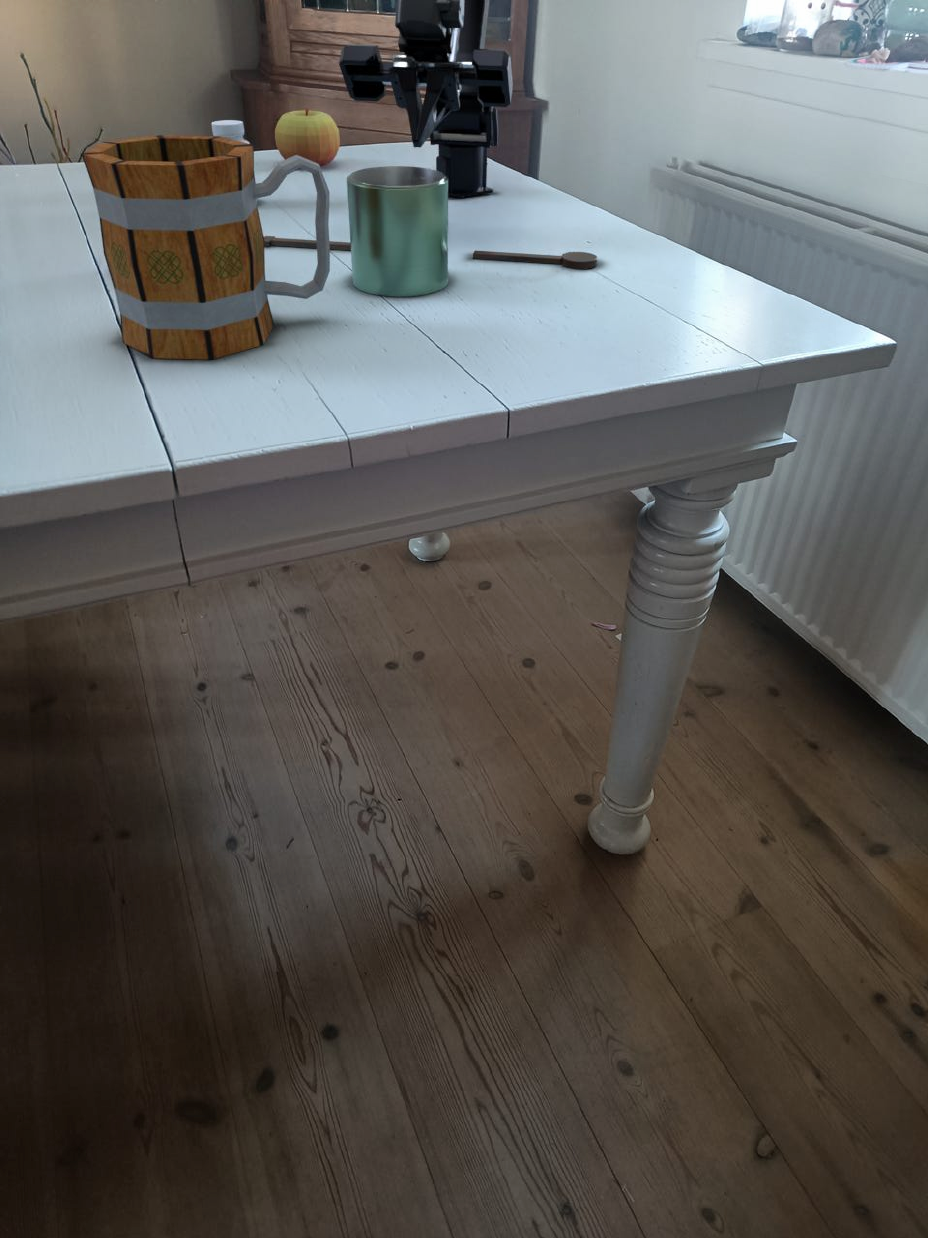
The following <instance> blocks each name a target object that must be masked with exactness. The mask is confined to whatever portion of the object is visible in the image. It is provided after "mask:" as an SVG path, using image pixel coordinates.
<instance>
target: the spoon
mask: <svg viewBox="0 0 928 1238" xmlns="http://www.w3.org/2000/svg"><path fill="white" fill-rule="evenodd" d="M472 259H476V260H490V261H503V262H504V261H507V262H519V263H520V262H522V263H536V264H537V263H538V264H552V265H561V266H563V267H566V268H569V269H574V270H587V269H593V268H596V267H597V266H598V259H599V258H598V256H597V255H596V254H594V253H592V252H591V253H590V252H586V251H570V252H569V251H568V252H565V253H563V254H562V255H555V254H553V255H552V254H536V253H524V252H523V253H520V252H505V251H489V250H477V249H476V250H474V251H473V253H472Z"/></svg>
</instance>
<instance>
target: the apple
mask: <svg viewBox="0 0 928 1238" xmlns="http://www.w3.org/2000/svg"><path fill="white" fill-rule="evenodd" d="M274 139H275V145H276V148H277V150H278V152H279V154H280V156H281V157H282V158H283V160H286V159H288V158H290V157H292V156H294V155H298V156H301V157H303V158H305V159H308V160H310V161H313V162H315V163H318V164H319V166H320V168H322V167H326V166H327V165H329V164H330V163H331V162H332V161H333V160H334V159H335V158H336V156H337V155H338V152H339V149H340V145H341V137H340V130H339V128H338V125H337V123H336V122H335V120H334V119H333V118H332V117H331V115H329V114H328V113H326V112H322V111H320V110H319V111H318V110H310V109H309V108H305V109H304V110H293V111H288V112H286V113H283V114H282V115H281V117H280V118H279V120H278V121H277V123H276V126H275V129H274Z"/></svg>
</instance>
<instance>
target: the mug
mask: <svg viewBox="0 0 928 1238" xmlns="http://www.w3.org/2000/svg"><path fill="white" fill-rule="evenodd" d="M254 149H255V145H254V144H251V143H250V144H248V143H244V142H240V141H236V140H232V139H228V138H224V137H220V136H213V135H168V134H167V135H166V134H165V135H163V134H159V135H152V136H151V135H150V136H142V137H135V138H134V137H133V138H126V139H118V140H109V141H102V142H100V143H99V144H97V145H95V146H94V147H92V148H90V149H88V150H86V151H84V152H82V153H81V157H82V160H83V163H84V165H85V169H86V171H87V172H86V173H87V174H88V177H89V180H90V183H91V186H92V190H93V194H94V199H95V204H96V208H97V209H96V210H97V213H98V219H99V225H100V232H101V243H102V249H103V250H102V251H103V256H104V259H105V262H106V265H107V269H108V272H109V275H110V279H111V283H112V285H113V290H114V293H115V297H116V302H117V307H118V312H119V319H120V329H121V330H120V331H121V341H122V343H123V344H125V345H127V346H128V347H131V348H132V349H133V350H136V351H137V352H139V353H141V354H143V355H145V356H147V357H148V358H150V359H167V360H169V359H170V360H171V359H172V360H215V359H219V358H223V357H226V356H229V355H233V354H237V353H240V352H244V351H246V350H250V349H254V348H257V347H261V346H264V344H265V342H266V340H267V339H268V337H269V335H270V333H271V332H272V329H273V328H274V325H275V324H274V319H273V315H272V310H271V306H270V302H269V299H268V295H269V296H270V295H271V296H282V297H291V298H297V299H304V300H308V299H309V298H311V297H313V296H314V295H317V294H319V293H320V292H322V291H323V290H324V287H325V285H326V282H327V279H328V277H329V274H330V271H331V249H330V243H329V241H330V230H329V229H330V228H329V227H330V226H329V221H330V219H329V218H330V189H329V187H328V183H327V181H326V179H325V176H324V174H323V171H322V169H321V168H322V167H320V166H319V164H318V163H315V162H313V161H310V160H308V159H305V158H303V157H301V156H298V155H294V156H292V157H290V158H288V159H286V160H285V159H283V160H282V161H279V162H278V163H277V164H275V167H274V168H273V169H272V171H271V172H270V173H269V174H268V176H267V177H266V178H265V179H264V180H263V181H262V182H256V181H255V182H256V184H255V182H254V174H255V150H254ZM299 169H300V170H303V171H306V172H308V173H310V174H311V176H312V179H313V183H314V186H315V191H316V202H315V203H316V205H315V207H316V208H315V219H314V224H315V225H314V226H315V240H316V241H317V248H316V254H317V255H316V256H317V257H316V258H317V259H316V260H317V265H316V268H315V271H314V274H313V277H312V280H310V281H308V282H307V283H305V284H303V285H298V284H294V283H289V282H287V281H275V280H266V268H265V264H266V263H265V262H266V261H265V256H266V255H265V246H264V237H265V236H264V232H263V227H262V222H261V218H260V212H259V207H258V201H257V199H256V198H258V199H261V198H266V197H270V196H272V195H273V194H274V193H275V192H276V191H277V190H278V189H279V188H280V186H281V185H282V183H283V182H284V180H285V179H286V178H287V176H288V175H290V174H292V173H293V172H295V171H297V170H299Z"/></svg>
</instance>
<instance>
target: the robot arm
mask: <svg viewBox="0 0 928 1238" xmlns="http://www.w3.org/2000/svg"><path fill="white" fill-rule="evenodd" d="M490 1H491V0H396V4H395V19H394V22H395V23H394V27H395V29H397V30H398V32H399V34H398V35H399V36H398V41H397V46H398V49H399V52H400V53H404V54H392V57H391V61H383V60H382V57H381V53H380V49H379V45H377V44H350V43H349V44H348V43H347V44H345V45H344V46H343V48H342V49H341V51H340V56H339V62H338V66H339V68H340V72H341V74H342V77H343V80H344V84H345V88H346V89H347V92H348V96H349V98H350V99H352V100H354V101H355V102H373V103H374V102H375V103H377V102H379V101H380V100H382V99H383V98H384V97H385V96H386V91H387V86H391V88H392V92H393V96H394V100H395V103H396V106H397V107H398V108H399V109H403V110H404V109H405V110H406V113H407V118H408V124H409V130H410V137H411V142H412V146H413V148H422V146H424V144H425V143H426V141H427V140H428V138H429V142H430V146H435V145H437V146H438V149H437V151H438V155H437V156H436V158H435V170H436V171H439V172H441V173H443V174H444V175H446V176H447V177H448V196H450V197H453V198H458V199H460V198H465V197H472V196H480V195H488V194H493V193H494V189H493V188H491V187H488V186H487V185H488V184H487V182H488V181H487V180H488V179H487V178H488V149H490V148H492V147H497V146H499V123H498V122H499V120H498V109H497V108H507V107H509V106H510V105H511V103H512V96H513V85H514V84H513V70H512V58H511V54H510V53H509V52H508V51H507V49H500V48H499V49H498V48H497V49H495V48H494V49H493V48H485V45H486V36H487V26H488V19H489V9H490ZM421 87H425V93H424V98H423V99H422V95H421V91H420V89H421ZM483 134H485V136H484V135H483Z"/></svg>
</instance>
